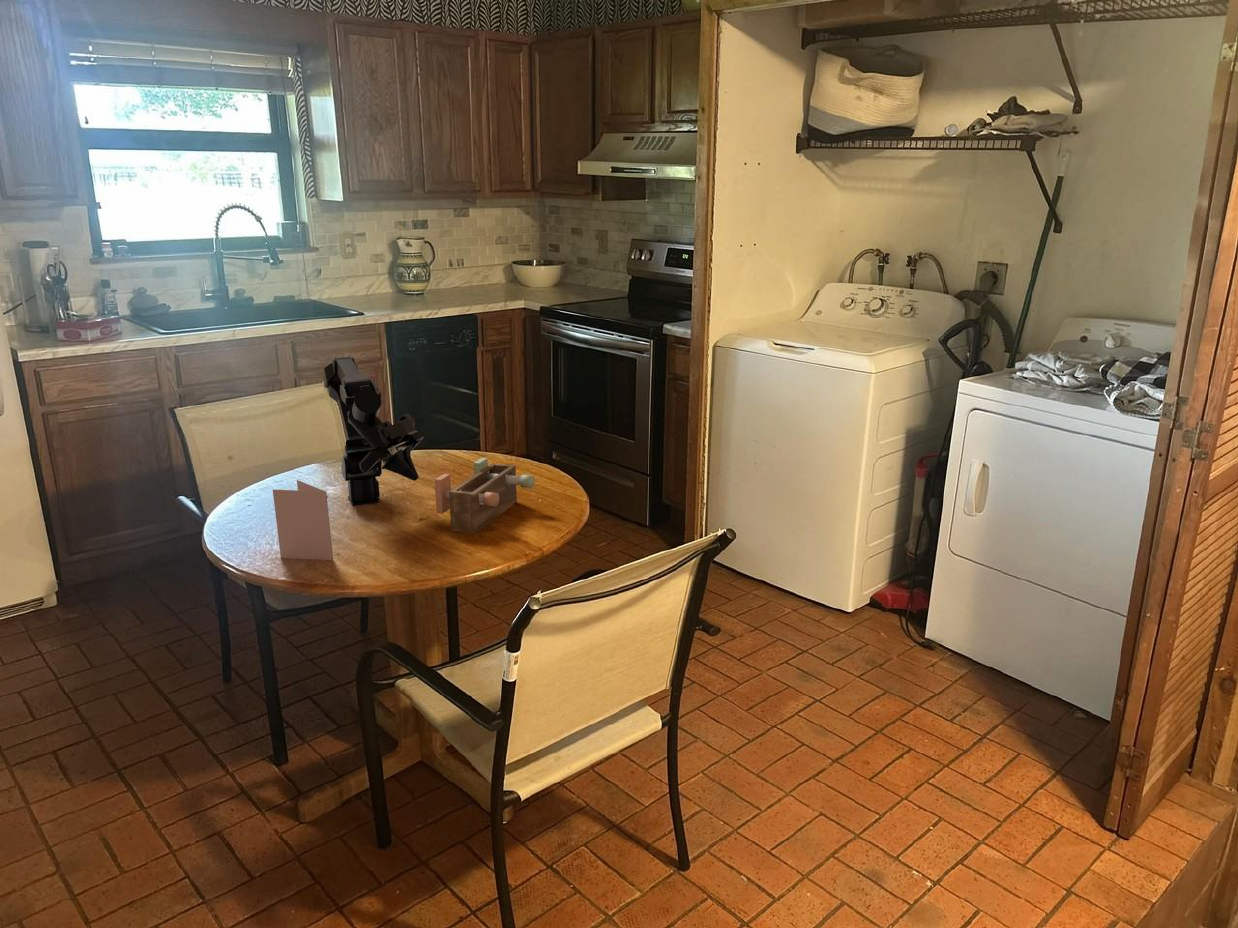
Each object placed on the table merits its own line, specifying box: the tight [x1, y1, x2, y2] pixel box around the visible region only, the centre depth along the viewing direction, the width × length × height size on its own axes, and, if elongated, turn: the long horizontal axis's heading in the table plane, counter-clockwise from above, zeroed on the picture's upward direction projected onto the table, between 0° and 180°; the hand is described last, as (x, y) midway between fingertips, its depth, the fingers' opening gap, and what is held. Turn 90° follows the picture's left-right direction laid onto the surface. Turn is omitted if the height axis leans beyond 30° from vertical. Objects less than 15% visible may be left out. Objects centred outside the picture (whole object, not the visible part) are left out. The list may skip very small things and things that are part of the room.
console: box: [449, 463, 518, 534], centre depth 213 cm, size 6×22×9 cm, turn 162°
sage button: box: [473, 457, 536, 489], centre depth 218 cm, size 14×4×8 cm, turn 71°
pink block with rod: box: [434, 473, 499, 515], centre depth 206 cm, size 14×4×8 cm, turn 72°
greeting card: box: [272, 479, 334, 561], centre depth 189 cm, size 11×7×15 cm, turn 48°
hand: (416, 479), depth 209 cm, fingers closed
